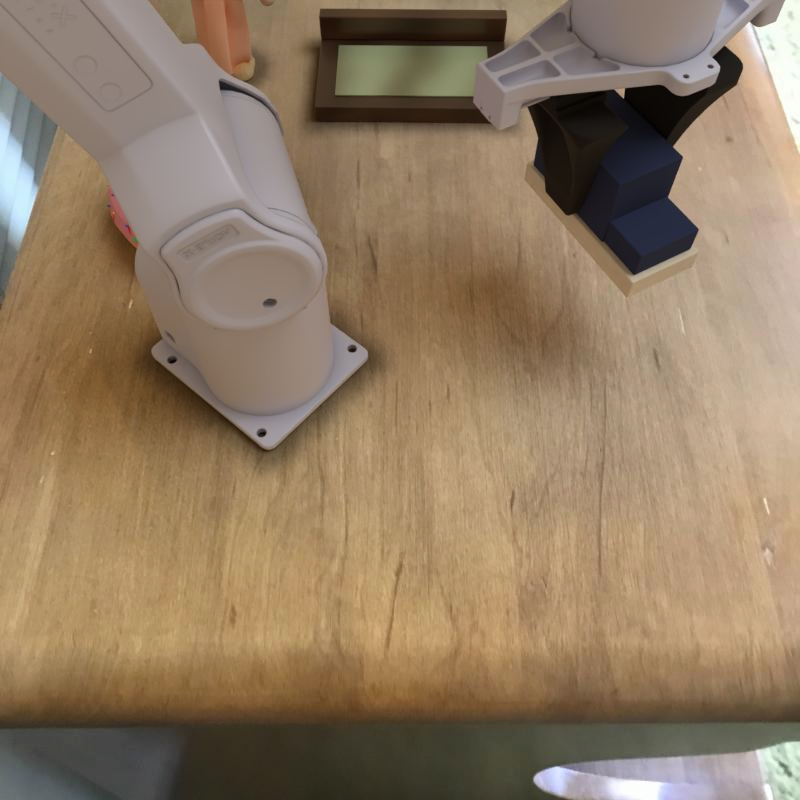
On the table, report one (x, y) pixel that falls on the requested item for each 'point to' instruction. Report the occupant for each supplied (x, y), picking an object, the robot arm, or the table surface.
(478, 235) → the table surface
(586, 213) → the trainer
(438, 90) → the brown tray with backboard
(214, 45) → the grandmother figurine
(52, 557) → the table surface
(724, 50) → the robot arm
